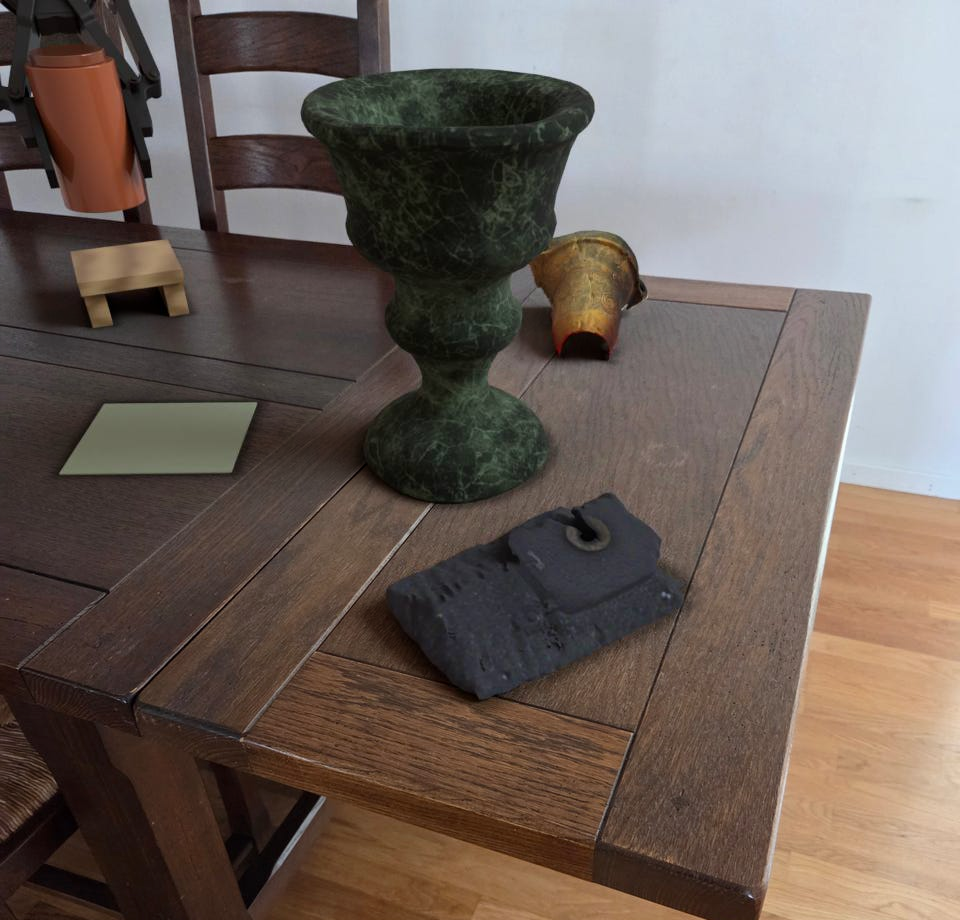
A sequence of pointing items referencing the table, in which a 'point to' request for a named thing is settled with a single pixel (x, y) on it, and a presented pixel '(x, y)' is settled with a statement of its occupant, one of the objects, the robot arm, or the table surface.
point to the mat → (162, 439)
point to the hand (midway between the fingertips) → (100, 173)
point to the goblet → (451, 253)
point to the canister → (86, 127)
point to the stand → (128, 276)
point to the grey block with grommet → (536, 596)
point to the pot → (588, 284)
